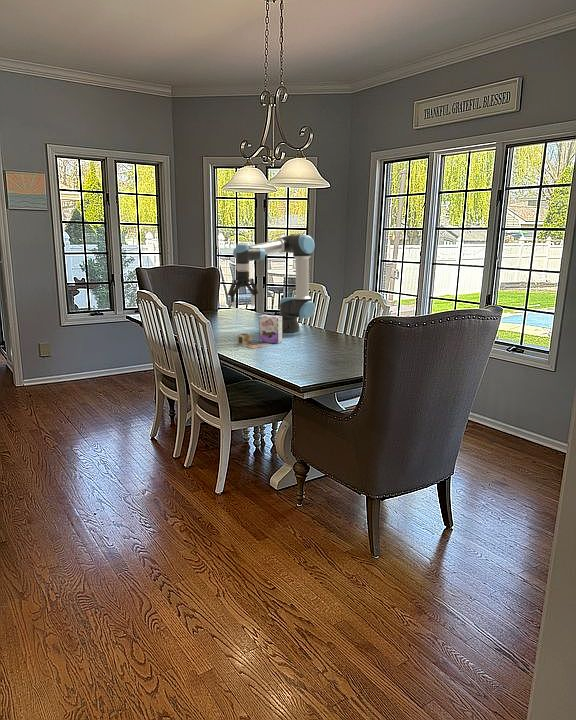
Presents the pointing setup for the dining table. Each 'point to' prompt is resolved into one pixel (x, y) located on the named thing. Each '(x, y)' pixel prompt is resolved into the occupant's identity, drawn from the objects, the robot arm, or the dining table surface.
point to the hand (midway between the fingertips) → (243, 306)
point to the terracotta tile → (253, 346)
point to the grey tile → (264, 344)
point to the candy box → (270, 329)
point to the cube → (244, 339)
